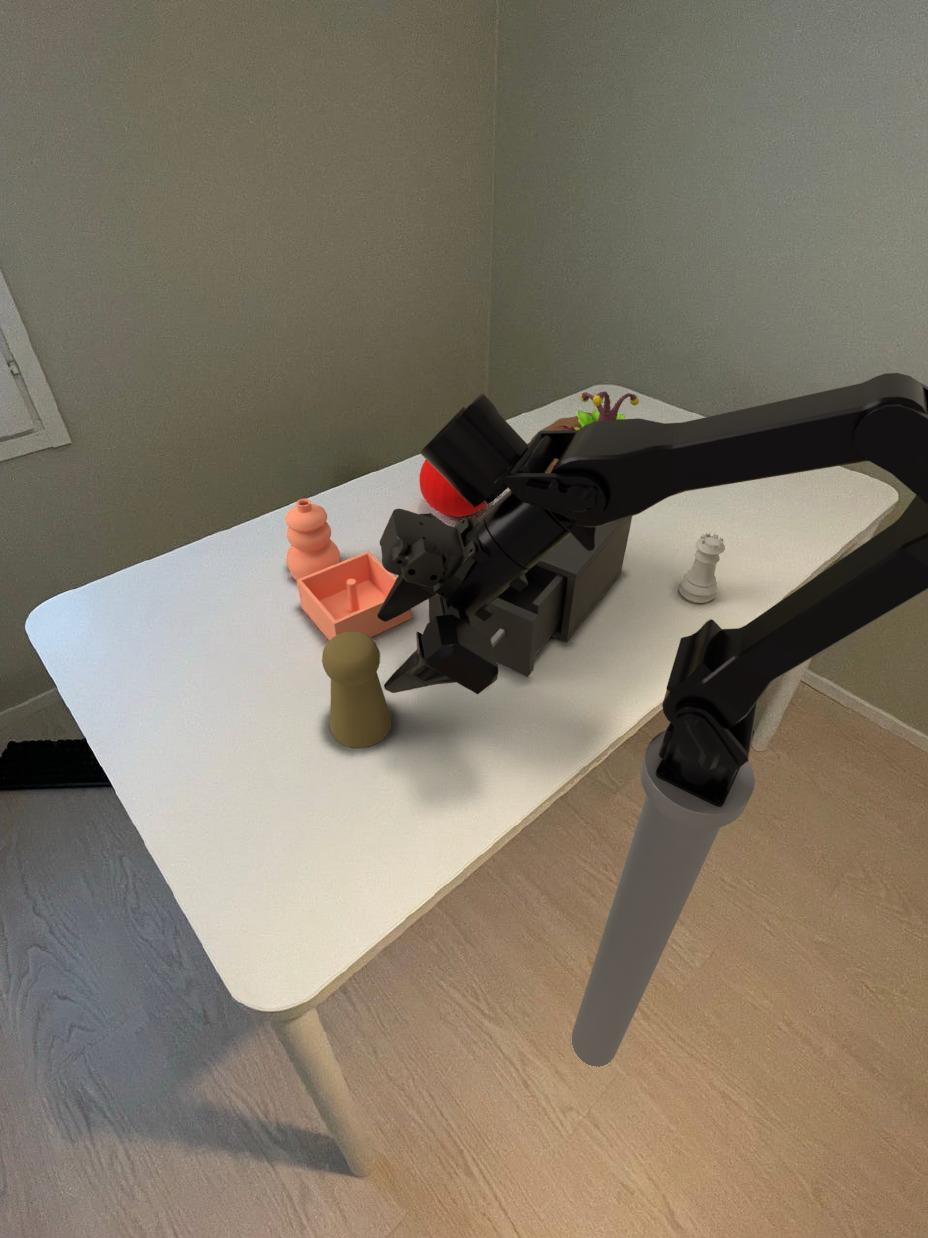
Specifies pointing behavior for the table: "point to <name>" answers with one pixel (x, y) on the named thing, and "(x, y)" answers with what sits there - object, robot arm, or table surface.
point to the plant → (591, 414)
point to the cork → (355, 690)
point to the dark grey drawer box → (585, 570)
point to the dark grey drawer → (520, 618)
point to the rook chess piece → (703, 570)
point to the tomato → (443, 494)
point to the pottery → (335, 577)
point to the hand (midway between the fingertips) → (384, 652)
